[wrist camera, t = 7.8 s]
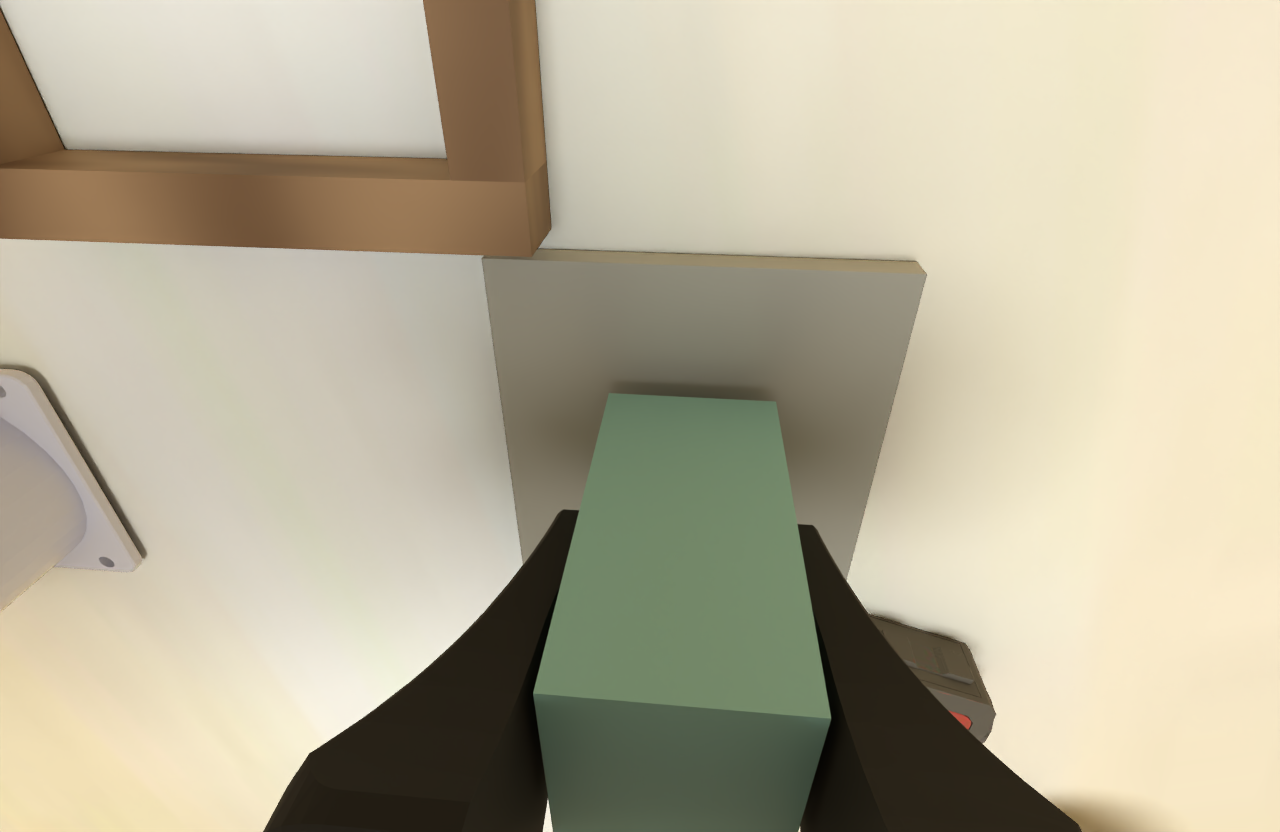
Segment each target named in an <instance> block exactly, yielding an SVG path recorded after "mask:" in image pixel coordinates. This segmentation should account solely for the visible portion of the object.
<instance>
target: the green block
mask: <svg viewBox="0 0 1280 832" xmlns="http://www.w3.org/2000/svg"><path fill="white" fill-rule="evenodd" d="M533 696H534V703H535V710H536V717H537V724H538V731H539V737H540V744H541V751H542V758H543V765H544V772H545V779H546V786H547V793H548V800H549V807H550V813H551V820H552V827H553V832H798V830H799V827H800V823H801V820H802V817H803V813H804V810H805V806H806V803H807V800H808V796H809V793H810V789H811V786H812V783H813V779H814V776H815V772H816V769H817V766H818V762H819V759H820V755H821V752H822V749H823V745H824V742H825V738H826V735H827V732H828V728H829V725H830V721H831V714H830V708H829V703H828V697H827V691H826V685H825V680H824V674H823V668H822V662H821V657H820V651H819V645H818V639H817V634H816V628H815V622H814V617H813V611H812V605H811V599H810V594H809V588H808V582H807V576H806V571H805V565H804V559H803V553H802V548H801V542H800V536H799V531H798V525H797V519H796V513H795V508H794V502H793V496H792V490H791V485H790V479H789V473H788V467H787V462H786V456H785V450H784V445H783V439H782V433H781V427H780V422H779V416H778V410H777V404H776V402H775V401H755V400H735V399H715V398H696V397H676V396H656V395H636V394H616V393H609V395H608V399H607V403H606V407H605V411H604V415H603V418H602V422H601V426H600V430H599V434H598V438H597V442H596V446H595V450H594V454H593V458H592V462H591V466H590V470H589V474H588V478H587V482H586V486H585V490H584V494H583V498H582V502H581V506H580V510H579V514H578V517H577V521H576V525H575V529H574V533H573V537H572V541H571V545H570V549H569V553H568V557H567V561H566V565H565V569H564V573H563V577H562V581H561V585H560V589H559V593H558V597H557V601H556V605H555V609H554V613H553V617H552V620H551V624H550V628H549V632H548V636H547V640H546V644H545V648H544V652H543V656H542V660H541V664H540V668H539V672H538V676H537V680H536V684H535V688H534V692H533Z"/></svg>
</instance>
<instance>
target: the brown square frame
mask: <svg viewBox="0 0 1280 832" xmlns="http://www.w3.org/2000/svg"><path fill="white" fill-rule="evenodd" d="M423 4H424V10H425V17H426V23H427V30H428V36H429V43H430V50H431V56H432V63H433V69H434V76H435V82H436V89H437V96H438V102H439V109H440V115H441V122H442V128H443V135H444V141H445V148H446V155H447V159H434V158H393V157H351V156H309V155H268V154H226V153H184V152H143V151H101V150H65V149H64V147H63V145H62V143H61V141H60V138H59V136H58V134H57V132H56V130H55V128H54V125H53V123H52V121H51V119H50V117H49V115H48V112H47V110H46V108H45V106H44V104H43V101H42V99H41V97H40V95H39V93H38V91H37V88H36V86H35V84H34V82H33V80H32V78H31V75H30V73H29V71H28V69H27V67H26V65H25V62H24V60H23V58H22V56H21V54H20V52H19V49H18V47H17V45H16V43H15V41H14V39H13V36H12V34H11V32H10V30H9V28H8V25H7V23H6V21H5V19H4V17H3V15H2V12H1V10H0V238H2V239H31V240H60V241H88V242H117V243H146V244H174V245H203V246H232V247H260V248H289V249H318V250H346V251H375V252H404V253H433V254H461V255H490V256H519V257H532V256H533V254H534V253H535V252H536V250H537V249H538V247H539V246H540V244H541V243H542V241H543V240H544V238H545V237H546V236H547V234H548V233H549V231H550V230H551V217H550V203H549V189H548V175H547V161H546V148H545V134H544V120H543V106H542V92H541V78H540V64H539V50H538V36H537V22H536V8H535V0H423Z"/></svg>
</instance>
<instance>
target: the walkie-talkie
mask: <svg viewBox="0 0 1280 832" xmlns="http://www.w3.org/2000/svg"><path fill="white" fill-rule="evenodd" d="M869 616H870V617H871V618H872V620H873V621H874V623H875V624H876V625H877V627H878V628H879V629H880V631H881V632H882V633H883V635H884V636H885V637H886V639H887V640H888V641H889V643H890V644H891V645H892V647H893V648H894V649H895V650H896V652H897V653H898V654H899V655H900V657H901V658H902V659H903V660H904V662H905V663H906V664H907V665H908V666H909V668H910V669H911V670H912V671H913V672H914V673H915V675H916V676H917V677H918V678H919V679H920V680H921V681H922V683H923V684H924V685H925V686H926V687H927V688H928V689H929V690H930V691H931V693H932V694H933V695H934V696H935V697H936V698H937V699H938V700H939V701H940V702H941V703H942V704H943V706H944V707H945V708H946V709H947V710H948V711H949V712H950V713H951V714H952V715H953V716H954V717H955V718H956V719H957V720H958V721H959V722H960V723H962V724H963V725H964V726H965V727H966V728H967V729H968V730H969V731H970V732H971V733H972V734H973V735H974V736H975V737H976V738H977V739H978V740H979V741H980V742H981V743H984V742H985V741H986V739H987V738H988V736H989V734H990V733H991V730H992V725H993V720H994V718H995V716H996V713H995V710H994V708H993V705H992V702H991V699H990V697H989V695H988V693H987V691H986V688H985V686H984V683H983V681H982V678H981V676H980V674H979V671H978V669H977V666H976V664H975V661H974V659H973V656H972V654H971V652H970V650H969V649H968V647H967V645H966V644H965V643H963V642H959V641H956V640H953V639H950V638H946V637H943V636H940V635H936V634H933V633H930V632H926V631H923V630H920V629H917V628H913V627H910V626H907V625H903V624H900V623H897V622H894V621H890V620H887V619H884V618H880V617H877V616H874V615H871V614H869Z"/></svg>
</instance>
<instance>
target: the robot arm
mask: <svg viewBox="0 0 1280 832" xmlns="http://www.w3.org/2000/svg"><path fill="white" fill-rule="evenodd" d="M578 514H579V510H567V509H563V510H561V511H560V512H559V513H558V514H557V516H556V517H555V519H554V521H553V522H552V524H551V526H550V527H549V529H548V530H547V532H546V533H545V535H544V536H543V538H542V539H541V541H540V542H539V544H538V545H537V546H536V548H535V549H534V551H533V552H532V554H531V555H530V556H529V558H528V559H527V560H526V562H525V563H524V564H523V565H522V567H521V568H520V569H519V571H518V572H517V573H516V575H515V576H514V577H513V579H512V580H511V581H510V582H509V584H508V585H507V586H506V587H505V588H504V589H503V591H502V592H501V593H500V594H499V595H498V596H497V598H496V599H495V600H494V601H493V602H492V603H491V605H490V606H489V607H488V608H487V609H486V610H485V612H484V613H483V614H482V615H481V616H480V617H479V618H478V619H477V620H476V621H475V622H474V623H473V624H472V625H471V626H470V627H469V629H468V630H467V631H466V632H465V633H464V634H463V635H462V636H461V637H460V638H458V639H457V640H456V641H455V642H454V643H453V644H452V645H451V646H450V647H449V648H448V649H447V650H446V651H445V652H444V653H443V654H441V655H440V656H439V657H438V658H437V659H436V660H435V661H434V662H433V663H432V664H430V665H429V666H428V667H427V668H426V669H425V670H424V671H422V672H421V673H420V674H419V675H418V676H417V677H415V678H414V679H413V680H412V681H411V682H409V683H408V684H407V685H405V686H404V687H403V688H402V689H400V690H399V691H398V692H396V693H395V694H394V695H393V696H391V697H390V698H389V699H387V700H386V701H385V702H384V703H382V704H381V705H380V706H378V707H377V708H376V709H375V710H373V711H372V712H370V713H369V714H368V715H366V716H365V717H364V718H362V719H361V720H359V721H358V722H356V723H355V724H353V725H352V726H350V727H349V728H347V729H346V730H344V731H343V732H341V733H340V734H338V735H337V736H335V737H334V738H332V739H331V740H329V741H328V742H326V743H325V744H323V745H322V746H320V747H319V748H317V749H316V750H314V751H313V752H311V753H309V755H308V756H307V758H306V760H305V761H304V763H303V764H302V766H301V767H300V769H299V770H298V772H297V773H296V774H295V776H294V777H293V779H292V780H291V782H290V784H289V785H288V787H287V788H286V790H285V792H284V794H283V796H282V797H281V799H280V801H279V803H278V805H277V807H276V809H275V811H274V812H273V814H272V816H271V818H270V820H269V822H268V824H267V825H266V827H265V829H264V831H263V832H543V825H544V819H545V813H546V806H547V800H548V793H547V786H546V779H545V772H544V765H543V758H542V751H541V744H540V737H539V731H538V724H537V717H536V710H535V703H534V696H533V692H534V688H535V684H536V680H537V676H538V672H539V668H540V664H541V660H542V656H543V652H544V648H545V644H546V640H547V636H548V632H549V628H550V624H551V620H552V617H553V613H554V609H555V605H556V601H557V597H558V593H559V589H560V585H561V581H562V577H563V573H564V569H565V565H566V561H567V557H568V553H569V549H570V545H571V541H572V537H573V533H574V529H575V525H576V521H577V517H578ZM797 525H798V531H799V536H800V542H801V548H802V553H803V559H804V565H805V571H806V576H807V582H808V588H809V594H810V599H811V605H812V611H813V617H814V622H815V628H816V634H817V639H818V645H819V651H820V657H821V662H822V668H823V674H824V680H825V685H826V691H827V697H828V703H829V708H830V714H831V721H830V725H829V728H828V732H827V735H826V738H825V742H824V745H823V749H822V752H821V755H820V759H819V762H818V766H817V769H816V772H815V776H814V779H813V783H812V786H811V789H810V793H809V796H808V800H807V803H806V806H805V810H804V813H803V817H802V820H801V823H800V831H801V832H1082V831H1081V829H1080V827H1079V825H1078V824H1077V823H1076V822H1075V821H1073V820H1072V819H1071V818H1070V817H1068V816H1067V815H1066V814H1065V813H1063V812H1062V811H1061V810H1060V809H1058V808H1057V807H1056V806H1055V805H1053V804H1052V803H1051V802H1050V801H1048V800H1047V799H1046V798H1045V797H1043V796H1042V795H1041V794H1040V793H1038V792H1037V791H1036V790H1035V789H1033V788H1032V787H1031V786H1030V785H1028V784H1027V783H1026V782H1025V781H1023V780H1022V779H1021V778H1020V777H1019V776H1018V775H1016V774H1015V773H1014V772H1013V771H1012V770H1011V769H1010V768H1008V767H1007V766H1006V765H1005V764H1004V763H1003V762H1002V761H1001V760H999V759H998V758H997V757H996V756H995V755H994V754H993V753H992V752H990V751H989V750H988V749H987V748H986V747H985V746H984V745H983V744H982V743H981V742H980V741H979V740H978V739H977V738H976V737H975V736H974V735H973V734H972V733H971V732H970V731H969V730H968V729H967V728H966V727H965V726H964V725H963V724H962V723H960V722H959V721H958V720H957V719H956V718H955V717H954V716H953V715H952V714H951V713H950V712H949V711H948V710H947V709H946V708H945V707H944V706H943V704H942V703H941V702H940V701H939V700H938V699H937V698H936V697H935V696H934V695H933V694H932V693H931V691H930V690H929V689H928V688H927V687H926V686H925V685H924V684H923V683H922V681H921V680H920V679H919V678H918V677H917V676H916V675H915V673H914V672H913V671H912V670H911V669H910V668H909V666H908V665H907V664H906V663H905V662H904V660H903V659H902V658H901V657H900V655H899V654H898V653H897V652H896V650H895V649H894V648H893V647H892V645H891V644H890V643H889V641H888V640H887V639H886V637H885V636H884V635H883V633H882V632H881V631H880V629H879V628H878V627H877V625H876V624H875V623H874V621H873V620H872V618H871V617H870V616H869V614H868V613H867V611H866V610H865V608H864V607H863V605H862V604H861V602H860V601H859V599H858V598H857V596H856V595H855V593H854V592H853V590H852V589H851V587H850V586H849V584H848V583H847V581H846V579H845V578H844V576H843V575H842V573H841V571H840V570H839V568H838V566H837V565H836V563H835V561H834V560H833V558H832V556H831V554H830V553H829V551H828V549H827V547H826V545H825V544H824V542H823V540H822V538H821V536H820V534H819V532H818V530H817V529H816V528H815V527H814V526H813V525H805V524H797ZM141 563H142V558H141V555H140V553H139V552H138V550H137V548H136V547H135V545H134V543H133V542H132V540H131V538H130V537H129V535H128V533H127V532H126V530H125V528H124V526H123V525H122V523H121V521H120V520H119V518H118V516H117V515H116V513H115V511H114V510H113V508H112V506H111V505H110V503H109V501H108V500H107V498H106V496H105V494H104V493H103V491H102V489H101V488H100V486H99V484H98V483H97V481H96V479H95V478H94V476H93V474H92V473H91V471H90V469H89V468H88V466H87V464H86V463H85V461H84V459H83V457H82V456H81V454H80V452H79V451H78V449H77V447H76V446H75V444H74V442H73V441H72V439H71V437H70V436H69V434H68V432H67V431H66V429H65V427H64V425H63V424H62V422H61V420H60V419H59V417H58V415H57V414H56V412H55V410H54V409H53V407H52V405H51V404H50V402H49V400H48V399H47V397H46V395H45V393H44V392H43V390H42V388H41V387H40V385H39V384H38V382H37V381H36V380H35V379H34V378H33V377H32V376H30V375H29V374H27V373H25V372H23V371H19V370H13V369H0V612H1V611H3V610H4V609H5V608H6V607H7V606H8V605H10V604H11V603H12V602H13V601H14V600H15V599H17V598H18V597H19V596H20V595H21V594H22V593H23V592H25V591H26V590H27V589H28V588H29V587H30V586H32V585H33V584H34V583H35V582H36V581H37V580H39V579H40V578H41V577H42V576H43V575H44V574H45V573H47V572H48V571H49V570H50V569H51V568H52V567H63V568H77V569H91V570H104V571H118V572H132V571H134V570H135V569H136V568H137V567H138V566H139V565H140V564H141Z"/></svg>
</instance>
